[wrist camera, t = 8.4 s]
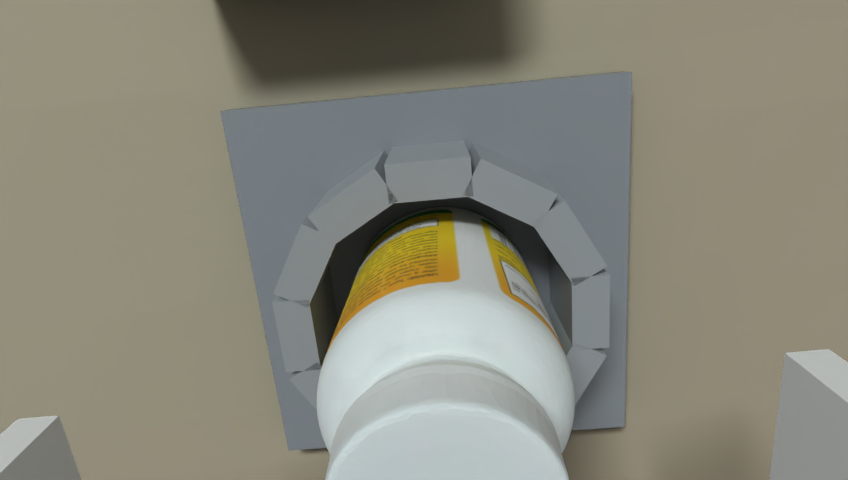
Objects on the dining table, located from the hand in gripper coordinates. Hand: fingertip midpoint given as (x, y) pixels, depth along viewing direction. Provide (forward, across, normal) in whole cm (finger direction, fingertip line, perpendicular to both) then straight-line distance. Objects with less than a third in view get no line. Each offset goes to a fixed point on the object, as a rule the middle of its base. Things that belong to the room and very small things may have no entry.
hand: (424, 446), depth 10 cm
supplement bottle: (+8, +1, 0) cm, 8 cm away
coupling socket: (+9, +1, 0) cm, 9 cm away
